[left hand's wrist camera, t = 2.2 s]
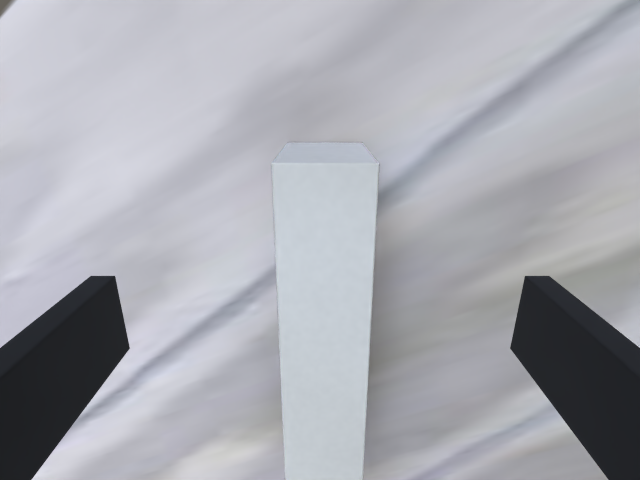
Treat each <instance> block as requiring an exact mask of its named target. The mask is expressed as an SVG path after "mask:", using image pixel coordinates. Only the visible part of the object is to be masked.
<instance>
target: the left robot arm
mask: <svg viewBox="0 0 640 480" xmlns="http://www.w3.org/2000/svg"><path fill="white" fill-rule="evenodd" d="M129 349H130V348H129V343H128V338H127V333H126V328H125V323H124V318H123V313H122V308H121V304H120V299H119V294H118V289H117V284H116V279H115V276H90V277H89V278H88V279H87V280H85V281H84V282H83V283H82V284H80V285H79V286H78V287H77V288H75V289H74V290H73V291H71V292H70V293H69V294H68V295H66V296H65V297H64V298H63V299H61V300H60V301H59V302H58V303H56V304H55V305H54V306H53V307H51V308H50V309H49V310H48V311H46V312H45V313H44V314H43V315H41V316H40V317H39V318H38V319H36V320H35V321H34V322H32V323H31V324H30V325H29V326H27V327H26V328H25V329H24V330H22V331H21V332H20V333H19V334H17V335H16V336H15V337H14V338H12V339H11V340H10V341H9V342H7V343H6V344H5V345H4V346H2V347H1V348H0V480H31V479H32V478H33V477H34V475H35V474H36V473H37V471H38V470H39V469H40V467H41V466H42V465H43V463H44V462H45V461H46V459H47V458H48V457H49V455H50V454H51V453H52V451H53V450H54V449H55V447H56V446H57V445H58V443H59V442H60V441H61V439H62V438H63V437H64V435H65V434H66V433H67V431H68V430H69V429H70V427H71V426H72V425H73V423H74V422H75V421H76V419H77V418H78V417H79V415H80V414H81V413H82V411H83V410H84V409H85V407H86V406H87V405H88V403H89V402H90V401H91V399H92V398H93V397H94V395H95V394H96V393H97V391H98V390H99V389H100V387H101V386H102V385H103V383H104V382H105V381H106V379H107V378H108V377H109V375H110V374H111V373H112V371H113V370H114V369H115V367H116V366H117V365H118V363H119V362H120V361H121V359H122V358H123V357H124V355H125V354H126V353H127V351H128V350H129ZM510 349H511V350H512V351H513V353H514V354H515V355H516V357H517V358H518V359H519V361H520V362H521V363H522V365H523V366H524V367H525V369H526V370H527V371H528V373H529V374H530V375H531V377H532V378H533V379H534V381H535V382H536V383H537V385H538V386H539V387H540V389H541V390H542V391H543V393H544V394H545V395H546V397H547V398H548V399H549V401H550V402H551V403H552V405H553V406H554V407H555V409H556V410H557V411H558V413H559V414H560V415H561V417H562V418H563V419H564V421H565V422H566V423H567V425H568V426H569V427H570V429H571V430H572V431H573V433H574V434H575V435H576V437H577V438H578V439H579V441H580V442H581V443H582V445H583V446H584V447H585V449H586V450H587V451H588V453H589V454H590V455H591V457H592V458H593V459H594V461H595V462H596V463H597V465H598V466H599V467H600V469H601V470H602V471H603V473H604V474H605V475H606V477H607V478H608V479H609V480H640V348H639V347H638V346H636V345H635V344H634V343H633V342H631V341H630V340H629V339H628V338H626V337H625V336H624V335H623V334H621V333H620V332H619V331H618V330H616V329H615V328H614V327H613V326H611V325H610V324H609V323H608V322H606V321H605V320H604V319H602V318H601V317H600V316H599V315H597V314H596V313H595V312H594V311H592V310H591V309H590V308H589V307H587V306H586V305H585V304H584V303H582V302H581V301H580V300H579V299H577V298H576V297H575V296H574V295H572V294H571V293H570V292H569V291H567V290H566V289H565V288H563V287H562V286H561V285H560V284H558V283H557V282H556V281H555V280H553V279H552V278H551V277H550V276H525V279H524V284H523V289H522V294H521V299H520V304H519V308H518V313H517V318H516V323H515V328H514V333H513V338H512V343H511V348H510Z"/></svg>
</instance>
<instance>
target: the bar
mask: <svg viewBox="0 0 640 480" xmlns="http://www.w3.org/2000/svg"><path fill="white" fill-rule="evenodd" d="M379 166H380V165H379V163H378V161H377V160H376V159H375V158H374V156H373V155H372V154H371V153H370V151H369V150H368V149H367V148H366V146H365V145H364V144H363V143H362V142H288V143H287V144H286V145H285V146H284V148H283V149H282V150H281V152H280V153H279V154H278V156H277V157H276V158H275V159H274V161H273V162H272V164H271V172H272V195H273V218H274V240H275V263H276V286H277V309H278V332H279V354H280V377H281V400H282V423H283V446H284V468H285V480H363V468H364V449H365V430H366V411H367V392H368V374H369V355H370V336H371V317H372V298H373V279H374V260H375V241H376V222H377V203H378V184H379Z"/></svg>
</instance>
